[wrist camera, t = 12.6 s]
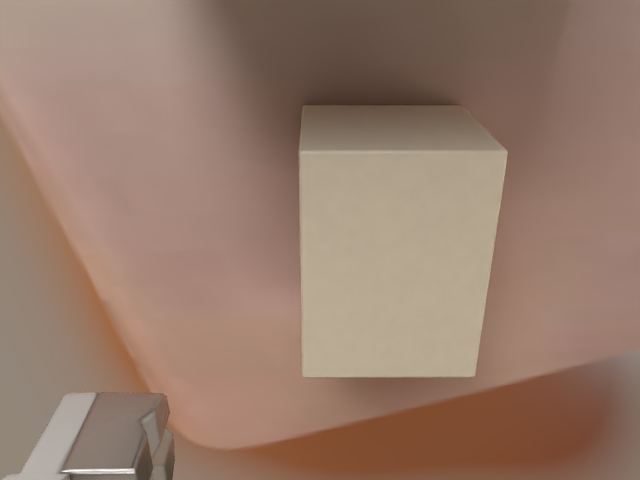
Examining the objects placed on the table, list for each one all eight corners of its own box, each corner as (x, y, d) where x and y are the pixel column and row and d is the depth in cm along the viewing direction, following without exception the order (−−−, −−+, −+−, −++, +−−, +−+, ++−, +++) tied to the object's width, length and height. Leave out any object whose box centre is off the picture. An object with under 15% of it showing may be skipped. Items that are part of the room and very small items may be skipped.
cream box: (302, 104, 17) (298, 150, 13) (463, 104, 17) (509, 151, 13) (304, 292, 20) (301, 379, 16) (442, 292, 20) (475, 378, 16)
